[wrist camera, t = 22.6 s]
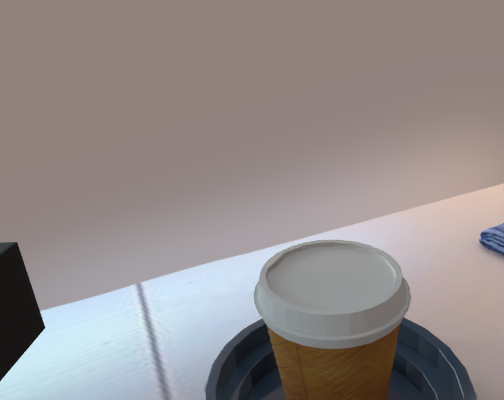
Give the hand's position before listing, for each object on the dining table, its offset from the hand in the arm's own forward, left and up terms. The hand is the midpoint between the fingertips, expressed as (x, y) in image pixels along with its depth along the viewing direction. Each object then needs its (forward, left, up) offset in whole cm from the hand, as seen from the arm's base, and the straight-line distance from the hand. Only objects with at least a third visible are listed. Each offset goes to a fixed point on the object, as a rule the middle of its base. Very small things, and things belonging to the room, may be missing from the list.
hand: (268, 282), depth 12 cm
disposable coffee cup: (-10, +12, -21) cm, 26 cm away
